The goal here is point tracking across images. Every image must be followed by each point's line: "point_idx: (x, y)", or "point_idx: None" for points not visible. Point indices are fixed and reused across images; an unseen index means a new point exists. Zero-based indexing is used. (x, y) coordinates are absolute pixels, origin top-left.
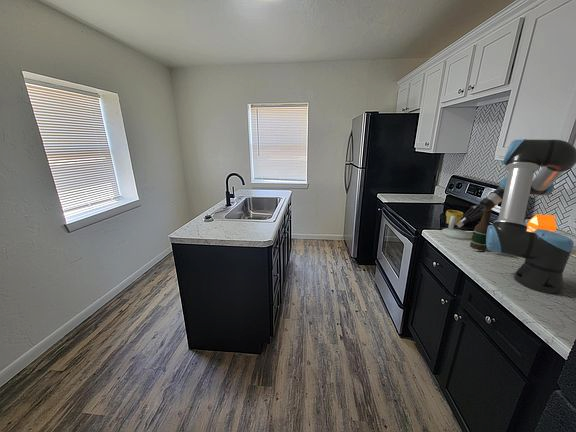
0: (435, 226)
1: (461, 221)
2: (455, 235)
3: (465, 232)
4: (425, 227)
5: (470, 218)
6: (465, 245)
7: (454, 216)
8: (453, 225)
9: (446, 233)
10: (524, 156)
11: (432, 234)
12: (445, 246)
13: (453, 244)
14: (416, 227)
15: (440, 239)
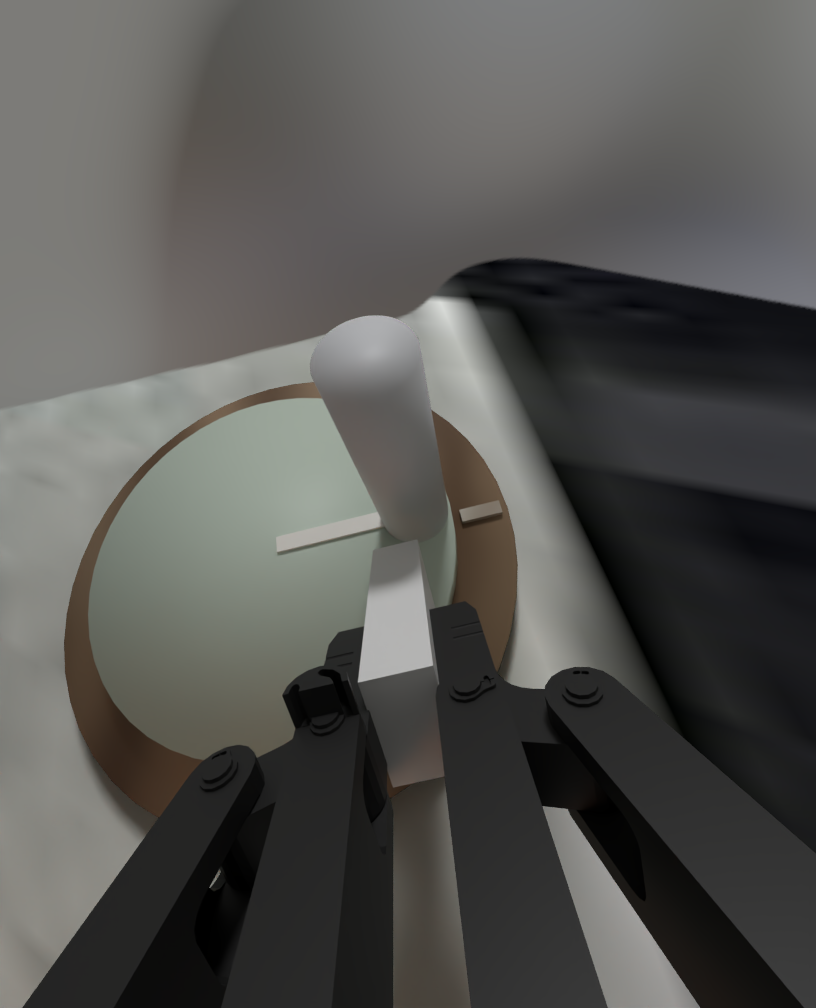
0: (674, 433)
1: (377, 598)
2: (163, 499)
3: None
4: (562, 327)
5: (208, 763)
6: (45, 586)
7: (341, 371)
8: (371, 497)
9: (224, 421)
10: None
11: None
12: (49, 406)
13: (81, 478)
14: (521, 259)
15: (202, 400)
